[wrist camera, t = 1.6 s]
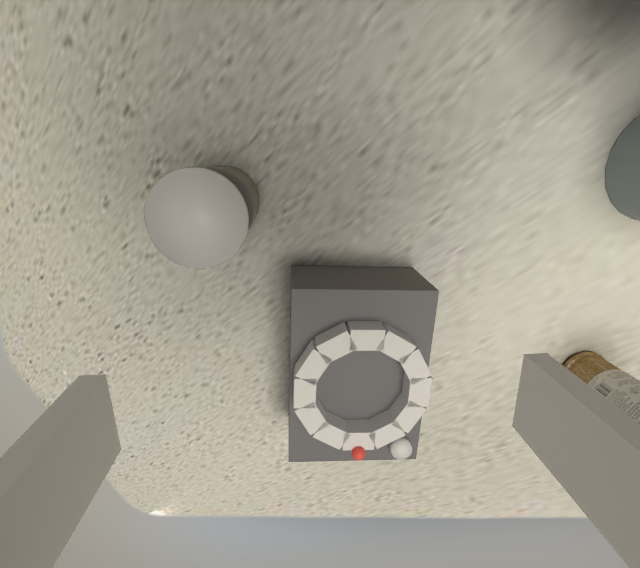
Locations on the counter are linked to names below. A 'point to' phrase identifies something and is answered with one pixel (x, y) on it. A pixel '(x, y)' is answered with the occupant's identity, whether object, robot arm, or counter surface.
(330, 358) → the grey block with ring
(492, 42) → the counter surface
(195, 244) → the grey cylinder
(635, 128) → the spray bottle
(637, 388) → the sprinkles bottle
